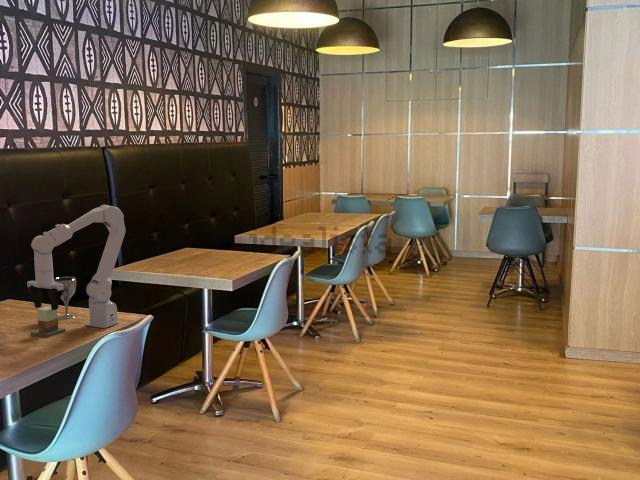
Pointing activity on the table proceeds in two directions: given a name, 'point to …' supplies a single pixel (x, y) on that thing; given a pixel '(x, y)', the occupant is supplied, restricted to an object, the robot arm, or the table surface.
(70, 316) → the wine glass
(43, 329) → the walnut block
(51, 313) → the sage cube
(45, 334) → the slate board
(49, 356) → the table surface
